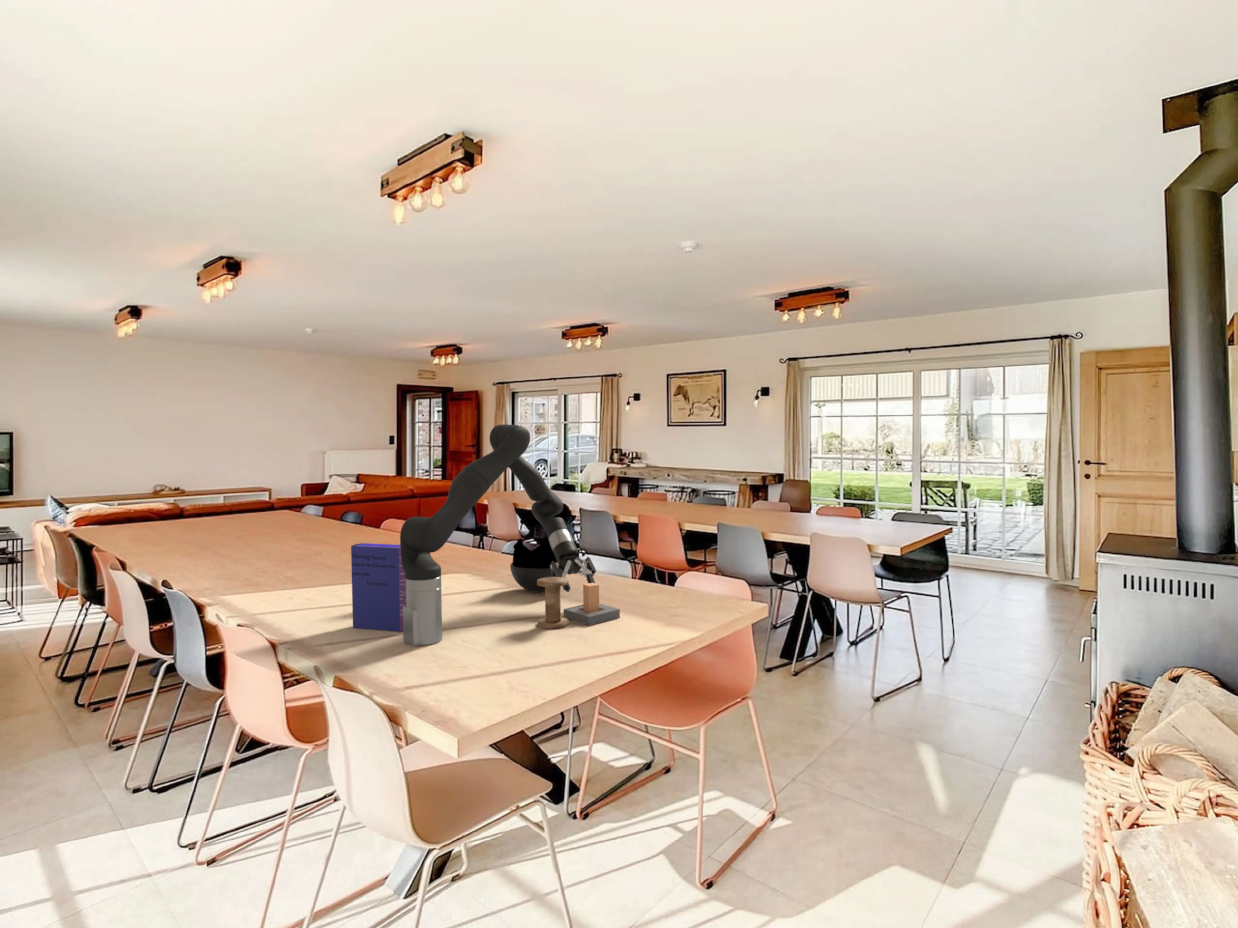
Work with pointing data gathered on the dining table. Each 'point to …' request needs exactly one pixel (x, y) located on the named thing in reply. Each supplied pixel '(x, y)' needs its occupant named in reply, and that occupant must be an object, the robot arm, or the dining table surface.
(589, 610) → the orange rectangular block
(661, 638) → the dining table surface
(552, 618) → the bobbin
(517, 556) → the bowl of black rocks
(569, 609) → the block with square hole
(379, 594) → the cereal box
